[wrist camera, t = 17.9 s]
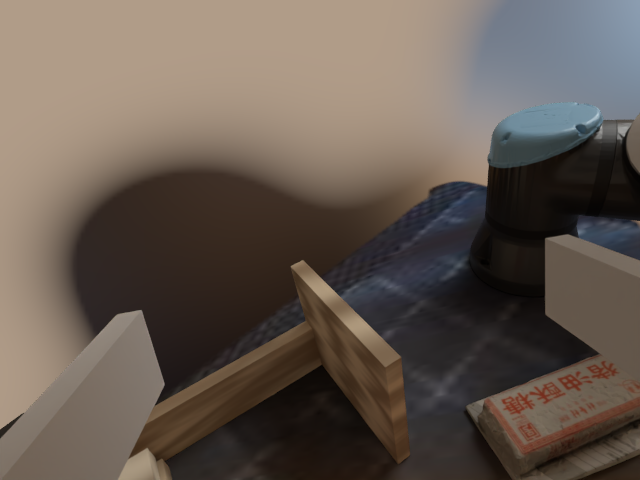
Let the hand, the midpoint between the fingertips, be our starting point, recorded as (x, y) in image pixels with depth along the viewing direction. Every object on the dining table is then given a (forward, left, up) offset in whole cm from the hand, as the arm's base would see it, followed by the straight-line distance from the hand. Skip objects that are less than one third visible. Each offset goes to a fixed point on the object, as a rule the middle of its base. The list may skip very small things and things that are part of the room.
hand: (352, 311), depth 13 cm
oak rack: (+18, -4, -34) cm, 38 cm away
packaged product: (-10, -21, -34) cm, 42 cm away
